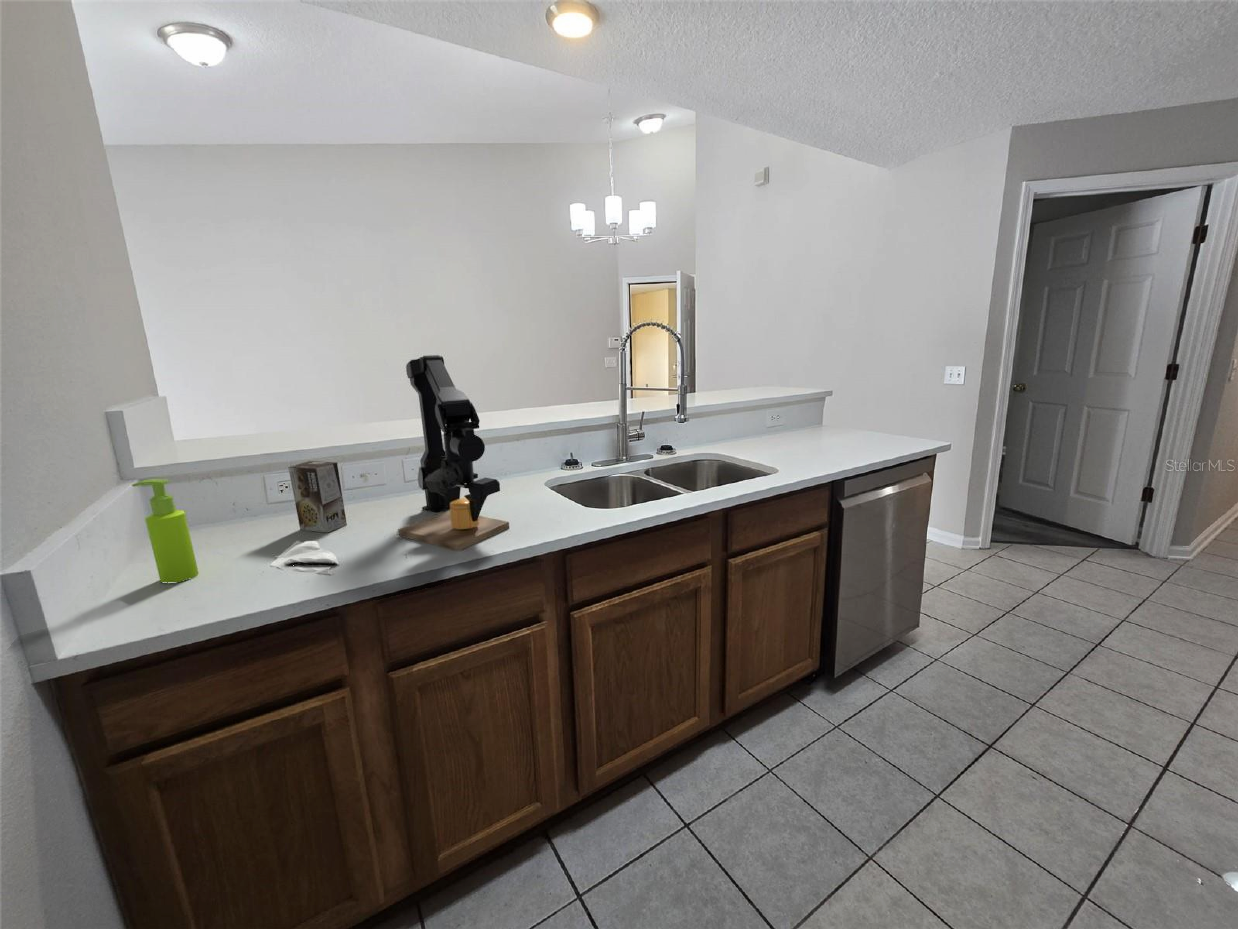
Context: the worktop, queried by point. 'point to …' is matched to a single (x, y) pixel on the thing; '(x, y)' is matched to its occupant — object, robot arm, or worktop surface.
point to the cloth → (305, 558)
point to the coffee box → (318, 496)
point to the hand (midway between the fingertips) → (465, 519)
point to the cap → (461, 514)
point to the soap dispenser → (169, 536)
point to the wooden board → (451, 531)
